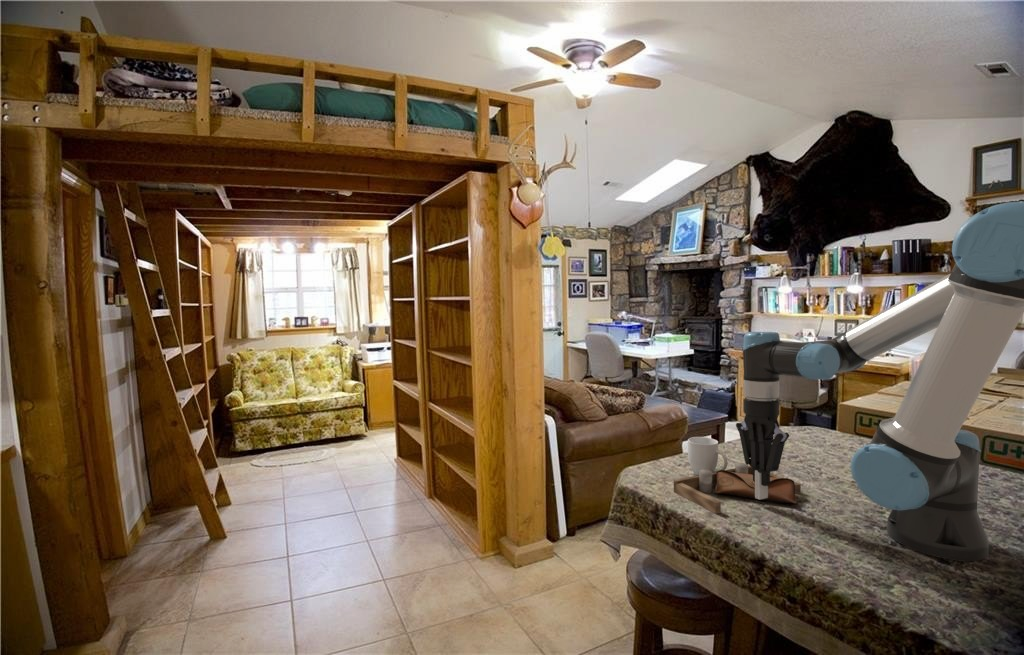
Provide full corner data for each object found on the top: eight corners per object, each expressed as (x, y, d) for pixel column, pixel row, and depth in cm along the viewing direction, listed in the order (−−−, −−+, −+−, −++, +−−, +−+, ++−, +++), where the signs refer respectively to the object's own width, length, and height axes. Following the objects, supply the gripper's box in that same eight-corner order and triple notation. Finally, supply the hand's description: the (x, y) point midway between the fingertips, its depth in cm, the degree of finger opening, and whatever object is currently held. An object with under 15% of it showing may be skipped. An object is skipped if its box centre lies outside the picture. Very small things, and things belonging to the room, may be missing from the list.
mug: (733, 475, 134) (733, 442, 133) (720, 483, 128) (721, 448, 128) (695, 466, 141) (695, 435, 141) (682, 473, 136) (682, 440, 135)
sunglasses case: (714, 492, 120) (715, 465, 122) (715, 497, 125) (715, 471, 128) (799, 504, 112) (798, 475, 115) (795, 509, 118) (794, 481, 121)
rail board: (800, 494, 120) (800, 474, 120) (715, 513, 111) (715, 492, 110) (753, 475, 133) (753, 457, 133) (673, 491, 124) (673, 472, 123)
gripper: (797, 401, 109) (797, 505, 110) (750, 392, 121) (750, 486, 122) (773, 404, 106) (773, 510, 107) (727, 395, 118) (727, 491, 119)
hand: (761, 497), depth 115 cm, fingers closed
